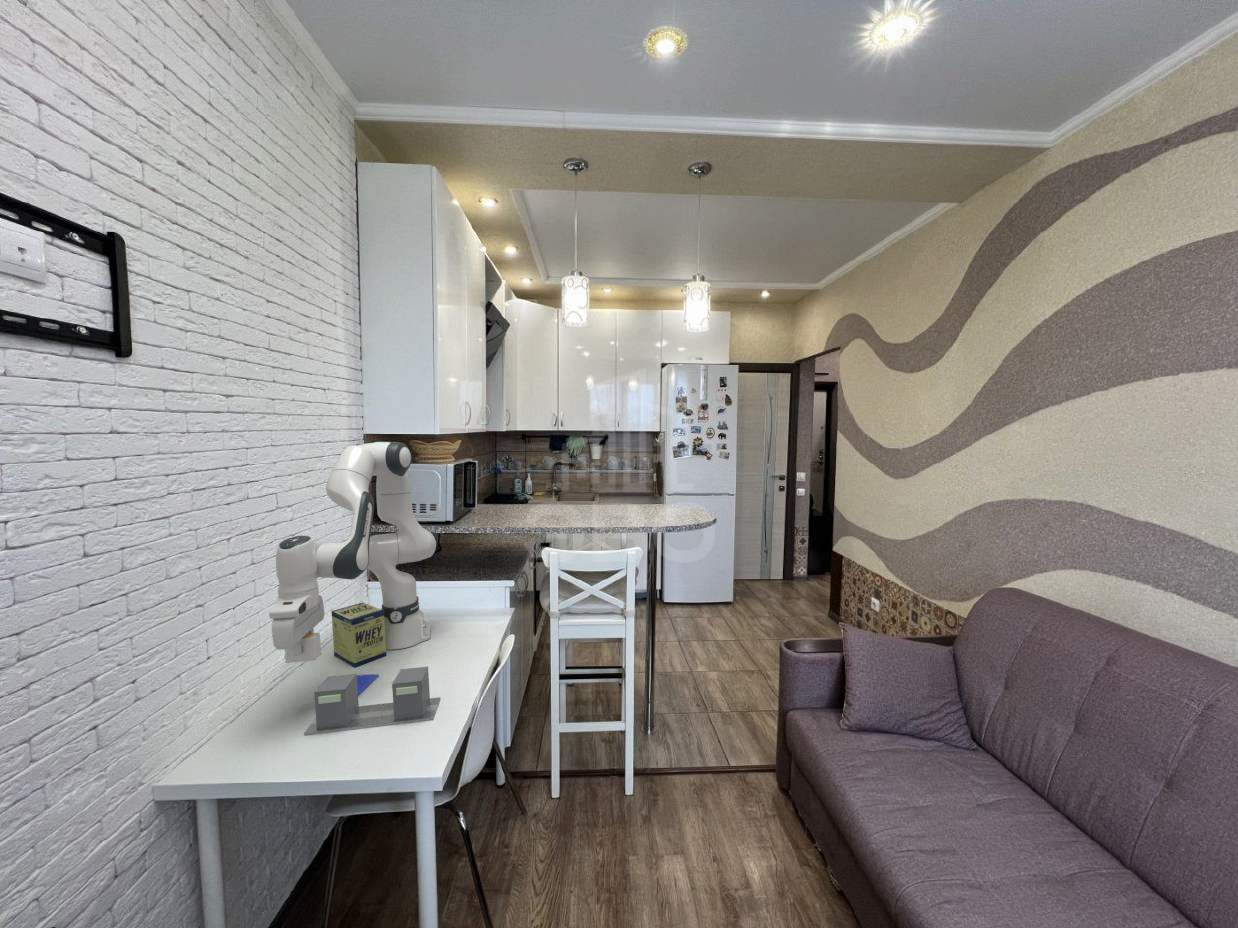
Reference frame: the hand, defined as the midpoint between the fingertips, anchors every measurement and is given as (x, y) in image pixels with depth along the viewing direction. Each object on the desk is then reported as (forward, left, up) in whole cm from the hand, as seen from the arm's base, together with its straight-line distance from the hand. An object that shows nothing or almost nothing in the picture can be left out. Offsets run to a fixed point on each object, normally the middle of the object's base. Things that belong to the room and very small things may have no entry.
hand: (303, 650), depth 129 cm
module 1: (+7, +10, -17) cm, 20 cm away
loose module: (0, 0, -2) cm, 2 cm away
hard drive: (-11, +8, -17) cm, 22 cm away
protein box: (-33, +2, -17) cm, 38 cm away
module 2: (+7, +28, -17) cm, 33 cm away
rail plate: (+7, +19, -17) cm, 26 cm away
